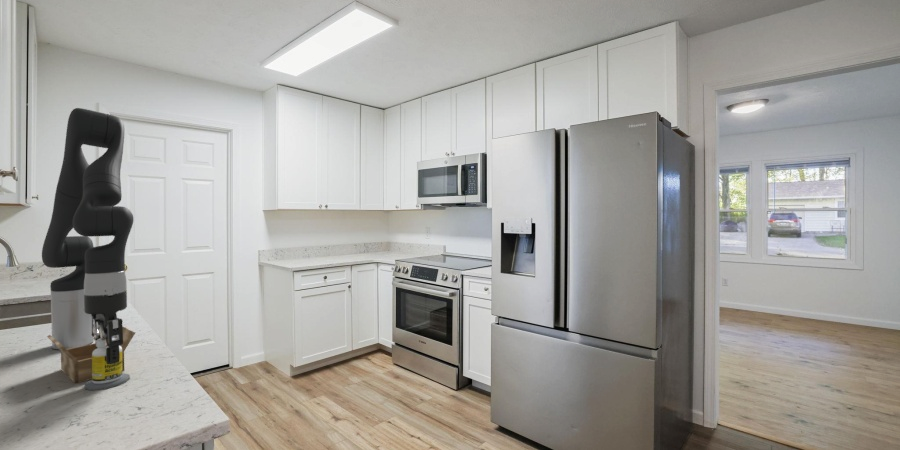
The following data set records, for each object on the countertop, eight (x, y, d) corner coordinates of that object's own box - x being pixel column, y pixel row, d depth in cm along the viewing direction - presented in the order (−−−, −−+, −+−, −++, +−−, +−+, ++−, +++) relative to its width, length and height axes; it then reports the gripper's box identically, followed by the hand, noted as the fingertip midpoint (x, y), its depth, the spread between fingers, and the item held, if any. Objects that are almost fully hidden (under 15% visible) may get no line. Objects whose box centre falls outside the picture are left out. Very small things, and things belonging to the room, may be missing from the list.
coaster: (80, 384, 91) (80, 381, 91) (123, 373, 98) (123, 370, 98) (90, 393, 87) (89, 390, 87) (134, 381, 93) (134, 378, 93)
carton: (47, 372, 98) (46, 335, 98) (119, 356, 110) (118, 322, 109) (60, 387, 90) (59, 346, 90) (136, 367, 101) (135, 331, 101)
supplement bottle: (104, 385, 89) (104, 343, 89) (85, 383, 90) (85, 341, 90) (128, 376, 94) (127, 336, 94) (110, 374, 95) (109, 334, 95)
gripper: (76, 290, 93) (78, 357, 93) (93, 297, 84) (94, 371, 85) (116, 285, 99) (118, 348, 99) (135, 291, 91) (137, 361, 91)
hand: (107, 359), depth 92 cm, fingers open, 8 cm apart
